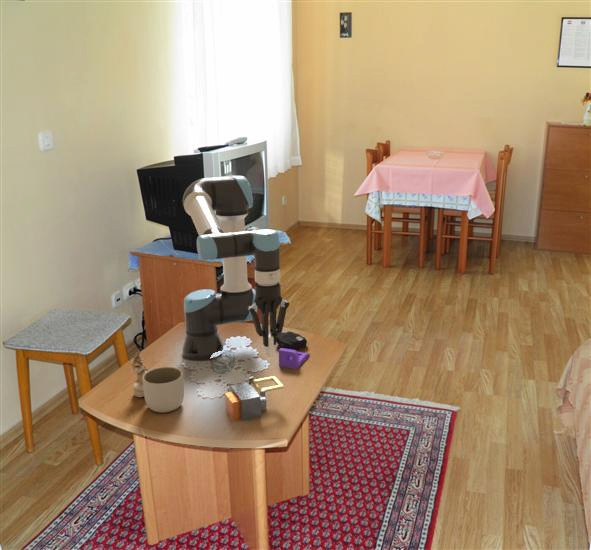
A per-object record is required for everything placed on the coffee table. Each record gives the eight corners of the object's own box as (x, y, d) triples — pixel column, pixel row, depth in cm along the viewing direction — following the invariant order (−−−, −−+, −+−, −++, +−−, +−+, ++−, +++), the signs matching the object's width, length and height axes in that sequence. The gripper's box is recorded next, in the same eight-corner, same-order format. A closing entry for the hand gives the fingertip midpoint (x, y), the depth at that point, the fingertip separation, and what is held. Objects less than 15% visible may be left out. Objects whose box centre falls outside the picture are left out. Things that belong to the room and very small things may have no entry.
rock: (295, 339, 254) (295, 325, 252) (308, 348, 247) (309, 334, 245) (273, 346, 249) (273, 332, 247) (286, 355, 242) (286, 341, 240)
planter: (149, 420, 199) (146, 387, 196) (141, 402, 210) (138, 371, 207) (189, 411, 203) (187, 379, 200) (180, 394, 214) (177, 363, 211)
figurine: (160, 396, 213) (156, 354, 209) (137, 401, 210) (133, 358, 206) (153, 387, 219) (149, 346, 215) (131, 392, 216) (127, 350, 212)
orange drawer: (260, 402, 208) (259, 385, 206) (268, 412, 202) (267, 394, 200) (226, 410, 203) (225, 392, 202) (233, 420, 197) (232, 402, 196)
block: (231, 405, 206) (230, 381, 204) (253, 400, 209) (252, 376, 206) (242, 421, 197) (241, 395, 194) (266, 415, 199) (265, 390, 197)
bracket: (296, 370, 230) (296, 352, 228) (279, 367, 233) (278, 350, 231) (309, 357, 241) (309, 340, 239) (292, 354, 243) (291, 337, 241)
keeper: (250, 379, 205) (274, 375, 208) (250, 382, 205) (274, 378, 208) (259, 390, 198) (283, 385, 201) (259, 393, 198) (283, 388, 201)
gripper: (251, 289, 188) (254, 363, 195) (293, 282, 193) (294, 355, 200) (242, 281, 195) (245, 354, 202) (283, 275, 200) (284, 346, 207)
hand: (270, 355), depth 201 cm, fingers closed
